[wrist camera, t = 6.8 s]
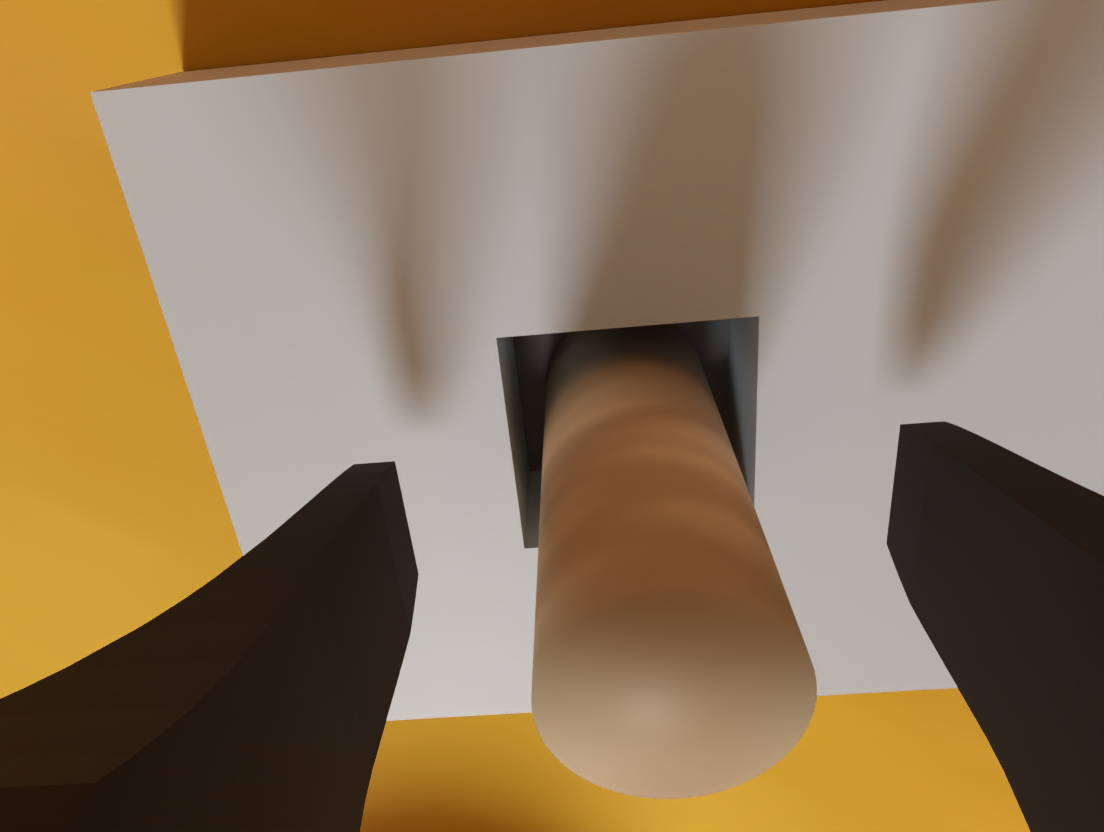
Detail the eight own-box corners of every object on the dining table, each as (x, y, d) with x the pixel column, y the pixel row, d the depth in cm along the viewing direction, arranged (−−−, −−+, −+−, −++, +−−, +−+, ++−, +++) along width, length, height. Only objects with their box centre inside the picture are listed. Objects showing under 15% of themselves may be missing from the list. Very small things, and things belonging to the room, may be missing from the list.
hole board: (1176, -30, 13) (1337, -34, 10) (1037, 578, 18) (1118, 678, 16) (181, 71, 14) (90, 91, 11) (335, 623, 19) (299, 725, 17)
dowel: (692, 296, 15) (808, 569, 8) (710, 438, 16) (823, 781, 9) (532, 325, 15) (504, 613, 8) (561, 462, 17) (558, 813, 9)
